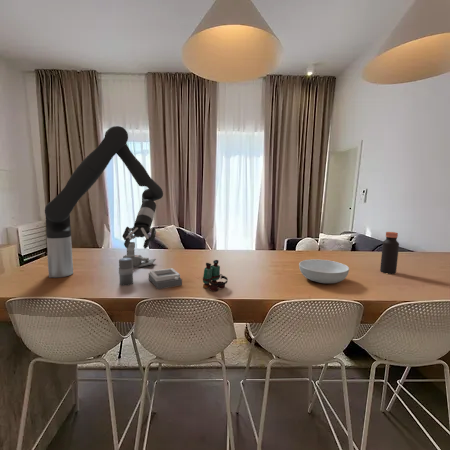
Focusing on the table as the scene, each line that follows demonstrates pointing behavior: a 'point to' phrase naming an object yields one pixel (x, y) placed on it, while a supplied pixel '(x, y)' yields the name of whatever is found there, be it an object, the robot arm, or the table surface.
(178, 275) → the plate
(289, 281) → the table surface
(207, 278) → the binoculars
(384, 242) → the bottle
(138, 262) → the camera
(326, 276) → the serving bowl
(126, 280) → the lens
